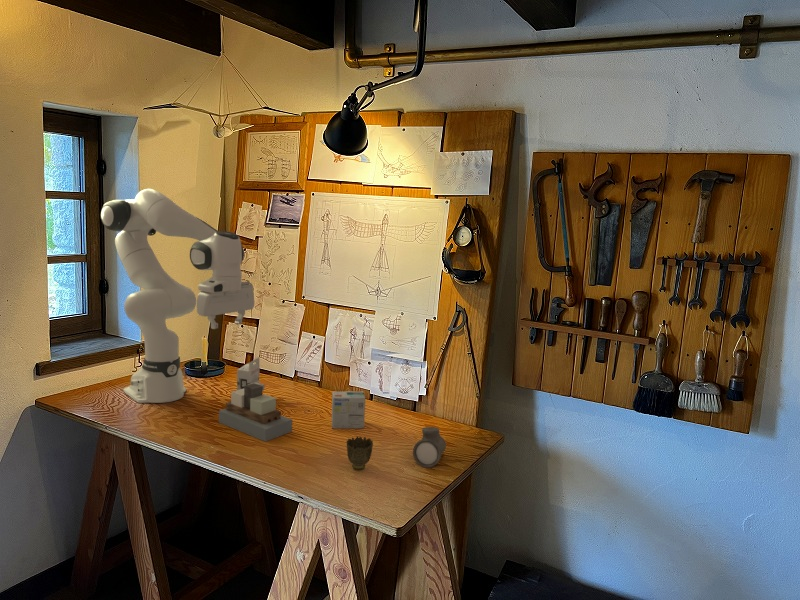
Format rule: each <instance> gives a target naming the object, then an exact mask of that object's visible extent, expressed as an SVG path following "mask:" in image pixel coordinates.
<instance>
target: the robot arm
mask: <svg viewBox="0 0 800 600" xmlns="http://www.w3.org/2000/svg"><path fill="white" fill-rule="evenodd" d="M100 219H101V222H102V224H103V226H104V228H106V229H107V230H109V231H112V232H119V233H118V234H117V235H116V237H115V239H114V245H115V249H116V251H117V254H118V258H119V260H120V262H121V264H122V265H123V268H124V270H125V272H126V274H127V276H128V278H129V280H130V281H131V283H132V284H133V285H135V286H137V287H139V288H142V289H141V290H139V291H135V292H133V293H130V294H128V295H127V297H126V299H125V301H124V304H123V305H124V313H125V315H126V316H127V318H128V319H129V320H130V321H131V322H134V323H135V324H136V325H137V326H138V328H139V329H140V330H141V332H142V335H143V340H144V357H142V358H140V359H141V362H142V365H141V368H139V370H137V371H136V372H134V373H133V374H132V375H131V376H130V377H131V378H130V385H129V386H126V387H124V388H123V393H125V394H126V395H128V396H129V397H130V398H131V399H132V400H134V401H135V402H136V403H138V404H139V403H140V404H143V403H144V404H146V403H152V404H153V403H154V404H155V403H157V404H159V403H161V404H162V403H172V402H174V401H177V400H180V399H182V398H183V397H184V395H185V393H186V391H187V388H186V387H185V386H184V377H183V370H182V369H181V357H180V353H179V349H180V345H179V343H180V342H179V341H180V340H179V336H178V334H177V333H176V332H174V331H173V330H171V329H169V328H168V327H167V323H166V320H168V319H174V318H180V317H183V316H185V315H188V314H191V313H192V312H194V310H195V308H196V312H197V313H196V314H198V316H201V317H203V318H204V317H205V318H207V319H208V321H209V323H210V329H212V330H216V329H218V328H219V323H218V322H217V321H216V320H215V319H216V316H218V315H224V314H231V313H236V312H237V314H238V315H237V316H236V318H234V324H235V325H238V326H239V325H242V324H243V319H244V317H245V314H246V311H250V310H253V309H254V308H255V294H254V286H253V283H252V282H250V281H247V280H246V281H242V275H243V274H242V270H241V264H242V263H243V261H244V259H245V249H244V247H243V244H242V242H241V239H240V236H239V235H238V234H237V233H235V232H232V231H225V230H224V231H223V230H220V231H219V230H217V229H215V228H214V227H213V226H211V225H210V224H208V223H207V222H205V221H204V220H202V219H200V218H199V217H197V216H195V215H194V214H191V213H189V212H188V211H186V209H183V208H182V207H181V206H179V205H178V204H176V203H175V202H174V201H173V200H172V199H170V198H169V197H167V196H166V195H165V194H164V193H161V192H160V191H158V190H156V189H153V188H146V189H143V190H140V191H139V192H138V193H137V194H136V195H135V198H133V199H113V200H110V201H107V202H105V203H104V204H103V206H102V208H101V211H100ZM156 233H159V234H162V235H164V236H167V237H176V238H177V237H178V238H188V239H189V238H190V239H194V240H197V241H195V242H193V244H192V245H191V247H190V250H189V260H190V263H191V265H192V266H193V267H194V268H195V269H197V270H199V271H200V270H201V271H211V270H212V273H211V274H212V277H210V278H208V279H206V280H204V281H202V282H200V283H198V286H197V288H198V290H199V293H198V294H197V296H196V294H195V292H194V290H192V289H191V288H190V287H187V286H185V285H184V284H181V283H180V282H178V281H177V280H175V279H174V278H173V277H171V275H169V274H168V273H167V272H166V271H165V269H164V268H163V266H162V265H161V263H160V262H159V260H158V257H157V256H156V254H155V252H154V250H153V248H152V247H151V245H150V243H149V241H148V236H152V237H153V236H154V235H156ZM196 297H197V298H196Z"/></svg>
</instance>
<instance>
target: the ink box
mask: <svg viewBox="0 0 800 600" xmlns="http://www.w3.org/2000/svg"><path fill="white" fill-rule="evenodd" d="M254 382H258V383H260V356H258V357H256V358H255V359H253V360H252V361H250V362H248V363H246V364H244V365H242V366H241V367H240V368H237V370H236V390H240V389H243V388H244V386H246V385H248V384H251V383H254Z"/></svg>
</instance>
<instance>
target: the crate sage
mask: <svg viewBox="0 0 800 600" xmlns="http://www.w3.org/2000/svg"><path fill="white" fill-rule="evenodd" d="M276 400H277V399H276V397H274V396H271V395H269V394H266V393H264V394H262V395H261V396H258V397H255V398H251V399H250V411H252V412H254V413H257V414H259V415H263V414H266V413H269V412H272V411H275V410H277V409H276V408H277V407H276V405H277V401H276Z"/></svg>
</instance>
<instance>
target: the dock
mask: <svg viewBox="0 0 800 600" xmlns="http://www.w3.org/2000/svg"><path fill="white" fill-rule="evenodd" d="M218 423H219V424H221V425H224V426H227V427H229V428H231V429H234V430H236V431H239V432H242V433H243V434H246V435H249V436H251V437H253V438H255V439H258V440H260V441H262V442H269V441H271V440H273V439H276V438H278V437H281V436H283V435H286V434H289V433H292V432H293V419H292V418H289V417H286V416H284V415H281V419H278V420H275V419H274V421H273V422H268V423H267V424H261V423H259V422H256V421H254V420H251V419H249V418H246V417H243V416H241V415H238V414H236V413H233V412H231V411H228V410H226V408H222V409H219V410H218Z"/></svg>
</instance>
